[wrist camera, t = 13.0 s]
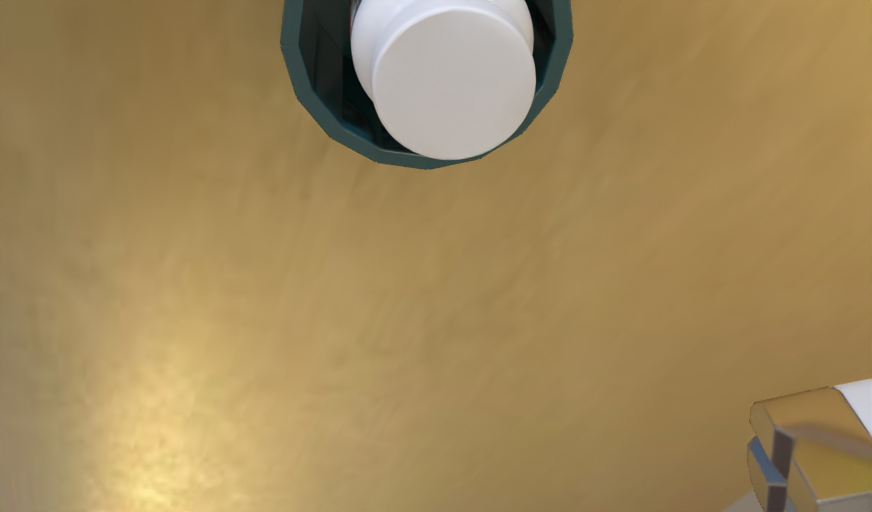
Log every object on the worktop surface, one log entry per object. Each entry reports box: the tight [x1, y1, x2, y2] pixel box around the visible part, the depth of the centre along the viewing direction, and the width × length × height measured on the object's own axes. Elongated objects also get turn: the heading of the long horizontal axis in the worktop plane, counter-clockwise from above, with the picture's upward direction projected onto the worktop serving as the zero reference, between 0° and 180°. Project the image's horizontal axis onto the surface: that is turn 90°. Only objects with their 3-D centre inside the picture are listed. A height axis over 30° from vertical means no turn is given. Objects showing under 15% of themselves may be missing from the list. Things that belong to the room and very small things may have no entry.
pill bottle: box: [349, 0, 536, 160], centre depth 27 cm, size 6×6×10 cm
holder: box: [280, 0, 574, 170], centre depth 29 cm, size 9×9×7 cm
